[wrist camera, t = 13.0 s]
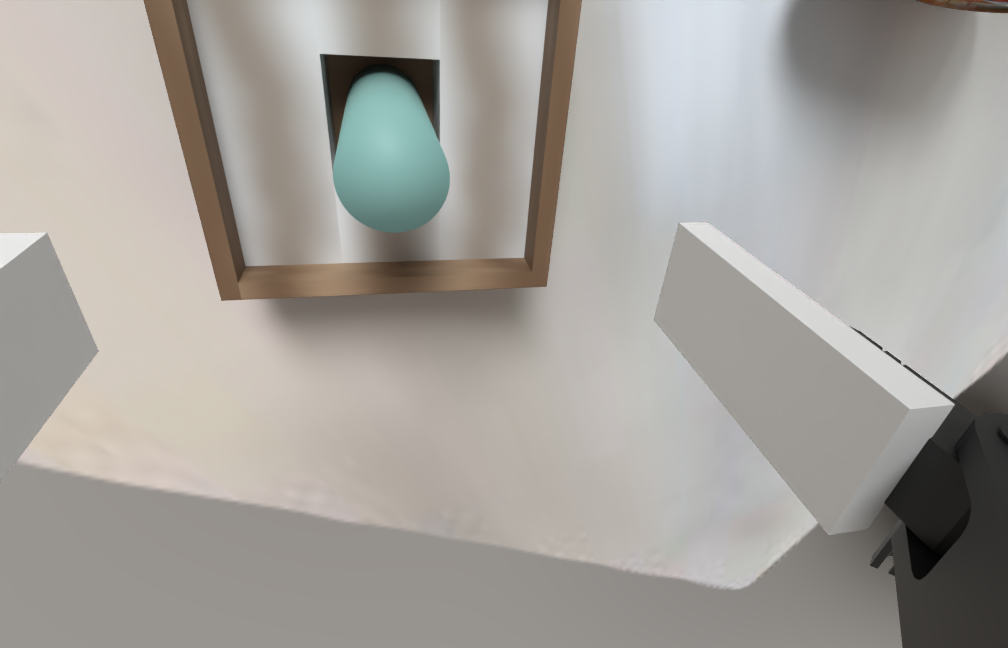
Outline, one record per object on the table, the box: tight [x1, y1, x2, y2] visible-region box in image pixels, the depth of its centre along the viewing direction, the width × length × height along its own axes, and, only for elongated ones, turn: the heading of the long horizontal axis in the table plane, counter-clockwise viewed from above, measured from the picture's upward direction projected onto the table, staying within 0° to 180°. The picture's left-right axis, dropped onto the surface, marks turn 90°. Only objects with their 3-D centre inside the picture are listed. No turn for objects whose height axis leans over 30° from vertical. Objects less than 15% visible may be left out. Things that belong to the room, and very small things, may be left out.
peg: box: [333, 64, 450, 233], centre depth 24 cm, size 4×4×14 cm
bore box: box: [144, 0, 582, 301], centre depth 28 cm, size 18×18×7 cm
